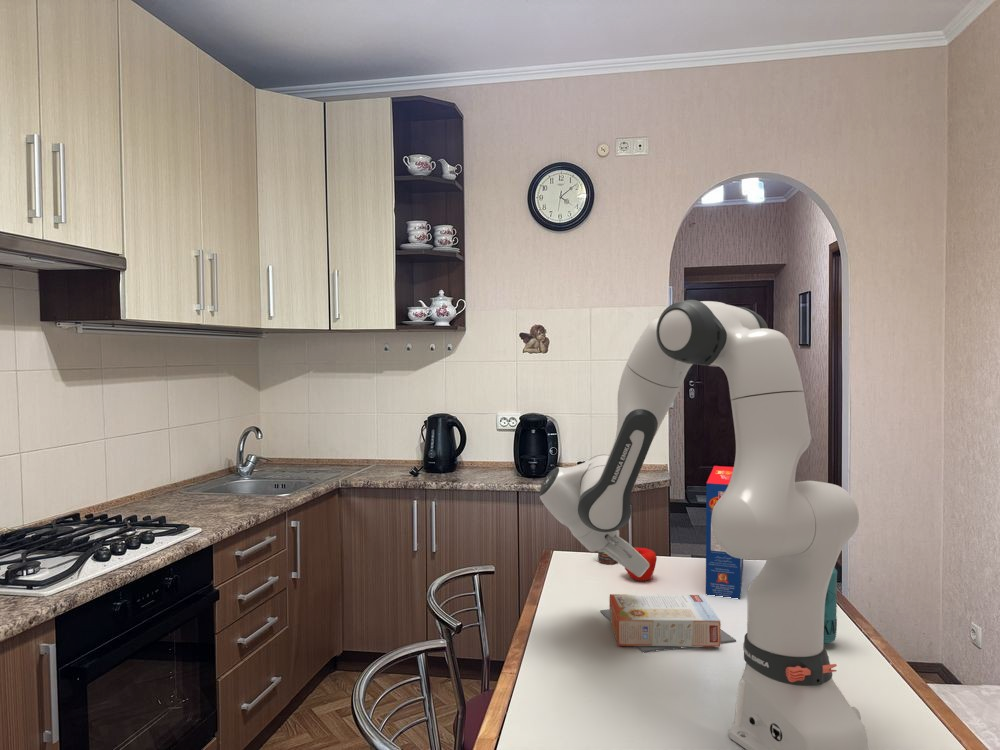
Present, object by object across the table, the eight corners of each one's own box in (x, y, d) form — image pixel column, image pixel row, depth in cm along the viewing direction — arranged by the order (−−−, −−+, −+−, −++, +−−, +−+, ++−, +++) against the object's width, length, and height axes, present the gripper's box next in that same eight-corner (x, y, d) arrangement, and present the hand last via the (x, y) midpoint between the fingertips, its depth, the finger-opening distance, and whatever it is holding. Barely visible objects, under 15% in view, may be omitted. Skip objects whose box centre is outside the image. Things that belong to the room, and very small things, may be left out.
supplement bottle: (594, 562, 191) (594, 523, 191) (603, 557, 196) (603, 519, 196) (613, 566, 188) (613, 526, 188) (622, 560, 193) (622, 522, 193)
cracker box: (616, 647, 135) (721, 648, 134) (616, 618, 134) (721, 618, 133) (609, 620, 149) (704, 620, 147) (608, 593, 148) (704, 593, 147)
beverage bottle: (798, 636, 141) (799, 541, 140) (832, 638, 139) (833, 543, 139) (805, 649, 134) (806, 550, 134) (841, 652, 133) (842, 552, 132)
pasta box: (713, 562, 191) (714, 466, 190) (743, 566, 188) (743, 467, 187) (705, 595, 165) (706, 483, 164) (740, 599, 162) (740, 485, 161)
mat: (736, 641, 138) (736, 639, 138) (642, 652, 133) (642, 650, 133) (682, 603, 159) (682, 602, 159) (600, 611, 154) (600, 610, 154)
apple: (615, 578, 177) (615, 549, 177) (635, 571, 183) (635, 543, 183) (643, 587, 171) (643, 556, 171) (663, 579, 177) (663, 550, 177)
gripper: (628, 531, 132) (672, 576, 135) (590, 508, 152) (629, 548, 154) (607, 555, 131) (652, 600, 134) (571, 529, 151) (611, 569, 153)
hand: (639, 572), depth 144 cm, fingers closed
